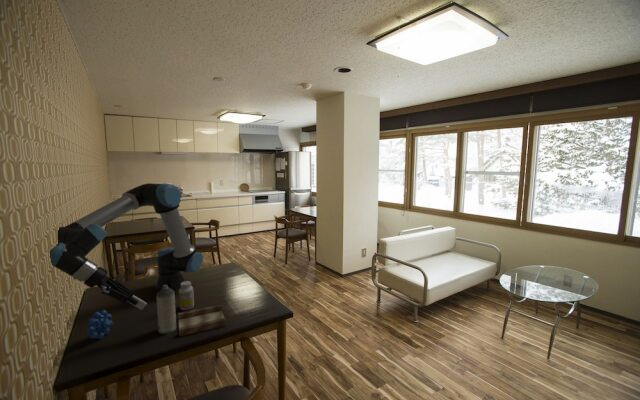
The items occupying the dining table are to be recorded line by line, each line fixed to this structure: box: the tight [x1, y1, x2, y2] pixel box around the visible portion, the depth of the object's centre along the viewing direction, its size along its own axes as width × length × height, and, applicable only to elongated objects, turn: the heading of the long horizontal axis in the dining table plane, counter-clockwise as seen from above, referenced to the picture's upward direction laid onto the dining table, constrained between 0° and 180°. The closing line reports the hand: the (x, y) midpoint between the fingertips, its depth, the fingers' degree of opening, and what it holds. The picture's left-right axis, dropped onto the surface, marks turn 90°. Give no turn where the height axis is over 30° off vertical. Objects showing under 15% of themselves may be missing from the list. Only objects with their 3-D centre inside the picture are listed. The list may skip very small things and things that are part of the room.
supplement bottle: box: [178, 280, 195, 311], centre depth 144 cm, size 7×7×13 cm
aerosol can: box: [156, 285, 177, 335], centre depth 124 cm, size 7×7×20 cm
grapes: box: [85, 309, 114, 340], centre depth 118 cm, size 12×7×12 cm, turn 175°
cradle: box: [177, 304, 228, 337], centre depth 131 cm, size 19×16×3 cm
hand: (144, 306), depth 120 cm, fingers closed
